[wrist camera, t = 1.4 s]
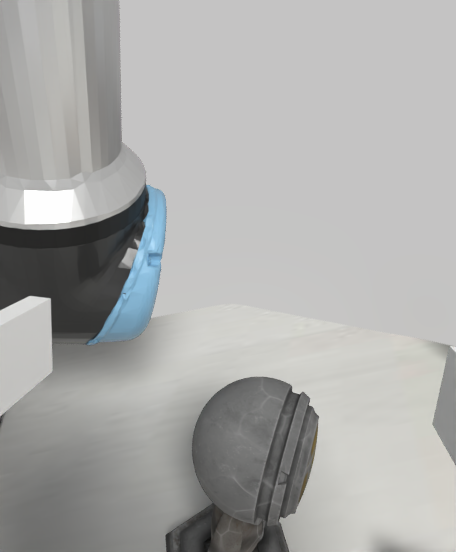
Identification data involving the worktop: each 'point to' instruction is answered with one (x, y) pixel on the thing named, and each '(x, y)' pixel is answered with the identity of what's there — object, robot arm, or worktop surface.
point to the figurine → (249, 467)
